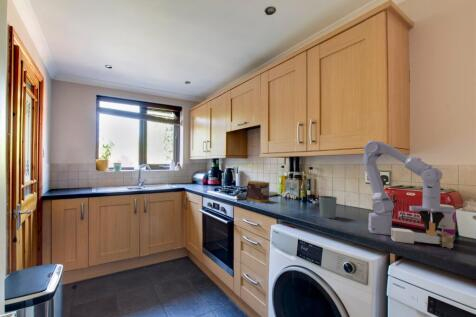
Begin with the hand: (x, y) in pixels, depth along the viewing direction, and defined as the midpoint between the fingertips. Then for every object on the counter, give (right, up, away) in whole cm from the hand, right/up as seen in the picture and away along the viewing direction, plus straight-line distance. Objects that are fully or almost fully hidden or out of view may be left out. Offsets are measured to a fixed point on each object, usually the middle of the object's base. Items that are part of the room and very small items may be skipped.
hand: (430, 229), depth 98 cm
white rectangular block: (-10, -6, +3) cm, 12 cm away
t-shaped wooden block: (-2, -6, +1) cm, 6 cm away
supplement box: (-64, -5, +95) cm, 115 cm away
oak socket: (+4, -6, -1) cm, 7 cm away
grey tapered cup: (-26, -6, +44) cm, 52 cm away
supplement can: (+11, -7, +7) cm, 15 cm away
